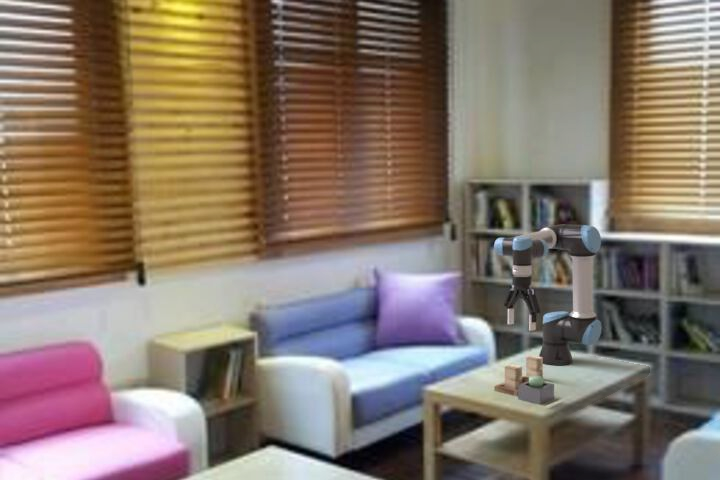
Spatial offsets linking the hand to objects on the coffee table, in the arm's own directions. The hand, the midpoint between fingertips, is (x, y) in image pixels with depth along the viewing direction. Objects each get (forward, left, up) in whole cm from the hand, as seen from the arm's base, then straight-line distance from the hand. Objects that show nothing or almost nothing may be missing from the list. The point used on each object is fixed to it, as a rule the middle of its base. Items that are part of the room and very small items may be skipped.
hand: (521, 327), depth 337 cm
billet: (-18, -5, -27) cm, 33 cm away
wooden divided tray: (-1, -1, -27) cm, 27 cm away
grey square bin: (+7, +12, -27) cm, 30 cm away
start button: (+7, +12, -20) cm, 24 cm away
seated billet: (+4, -1, -26) cm, 26 cm away
